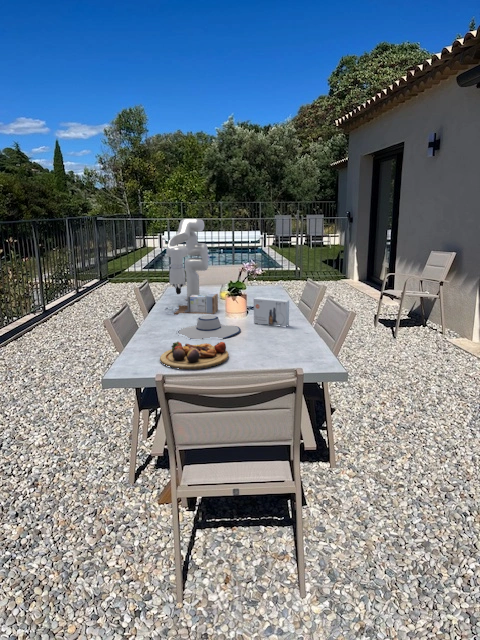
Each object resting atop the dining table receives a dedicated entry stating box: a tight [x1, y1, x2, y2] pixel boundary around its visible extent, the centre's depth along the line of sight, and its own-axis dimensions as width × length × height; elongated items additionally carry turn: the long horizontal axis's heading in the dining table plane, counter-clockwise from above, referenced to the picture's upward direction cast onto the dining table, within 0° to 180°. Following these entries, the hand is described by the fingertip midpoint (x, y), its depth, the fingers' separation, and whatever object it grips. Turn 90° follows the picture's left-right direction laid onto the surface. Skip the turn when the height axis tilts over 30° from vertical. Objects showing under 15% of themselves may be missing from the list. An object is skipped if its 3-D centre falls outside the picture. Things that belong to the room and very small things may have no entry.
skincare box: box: [253, 296, 290, 326], centre depth 266 cm, size 21×5×16 cm, turn 64°
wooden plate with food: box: [159, 341, 230, 370], centre depth 209 cm, size 32×32×8 cm
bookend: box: [184, 295, 191, 312], centre depth 298 cm, size 9×4×10 cm, turn 171°
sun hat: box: [177, 314, 242, 340], centre depth 254 cm, size 36×36×9 cm
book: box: [206, 293, 216, 313], centre depth 296 cm, size 9×5×11 cm, turn 171°
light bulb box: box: [190, 294, 208, 313], centre depth 297 cm, size 11×7×11 cm, turn 82°
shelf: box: [173, 293, 219, 315], centre depth 298 cm, size 12×27×12 cm, turn 81°
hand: (178, 293), depth 299 cm, fingers closed
